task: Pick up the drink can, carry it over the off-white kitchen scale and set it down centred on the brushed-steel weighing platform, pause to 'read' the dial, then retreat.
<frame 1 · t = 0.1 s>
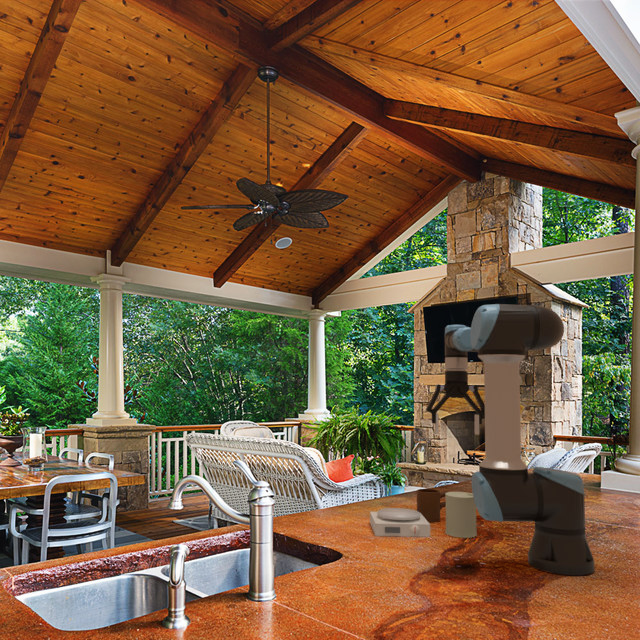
hand: (456, 433, 194), 28 cm above the counter, fingers open, 13 cm apart
can: (461, 534, 171), on the counter
mug: (434, 520, 189), on the counter
scale: (398, 529, 175), on the counter
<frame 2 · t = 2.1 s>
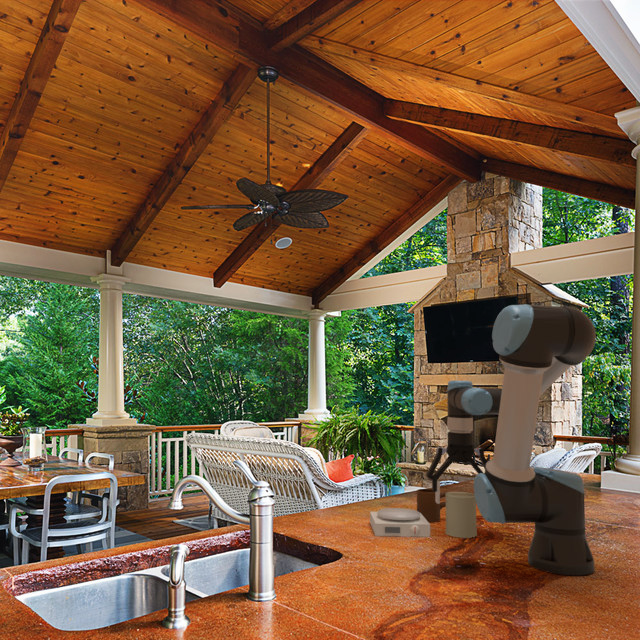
hand: (460, 503, 173), 9 cm above the counter, fingers open, 13 cm apart
nothing on the counter moved.
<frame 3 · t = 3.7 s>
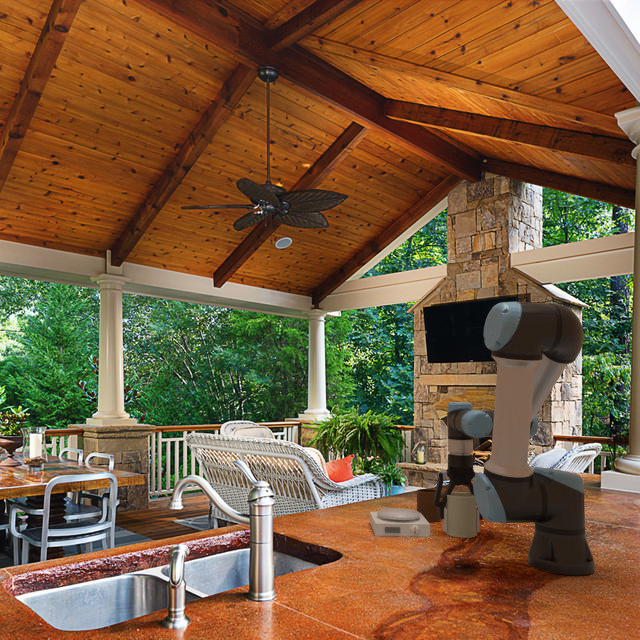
hand: (461, 530, 172), 1 cm above the counter, fingers closed on can, 9 cm apart
can: (461, 534, 171), on the counter, touching gripper
everything else where it was.
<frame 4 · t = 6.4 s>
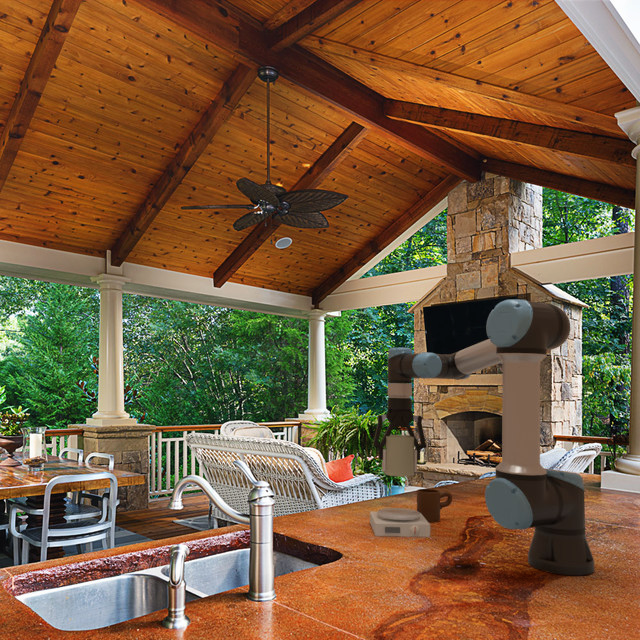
hand: (399, 471, 177), 17 cm above the counter, fingers closed on can, 9 cm apart
can: (399, 474, 177), point 16 cm above the counter, touching gripper
everything else where it was.
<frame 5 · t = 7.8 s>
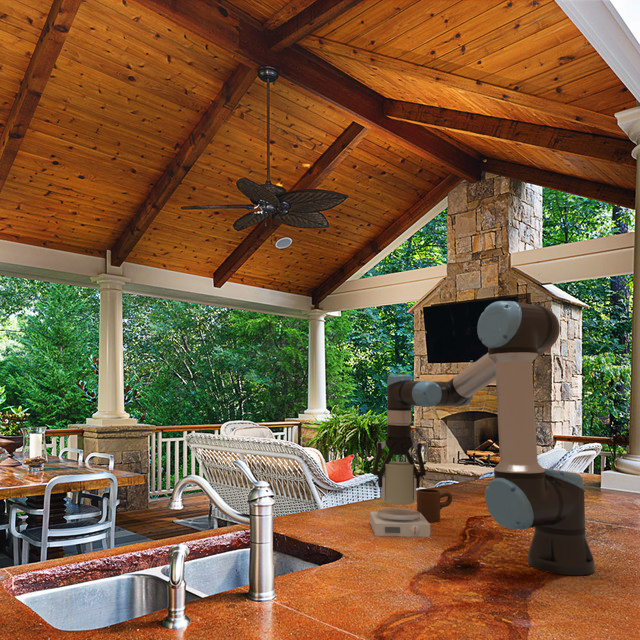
hand: (398, 498, 176), 9 cm above the counter, fingers closed on can, 9 cm apart
can: (398, 502, 176), point 8 cm above the counter, touching gripper
everything else where it was.
when the fingers open (7 cm above the counter, at t = 9.1 s): can drops 1 cm, resting on scale.
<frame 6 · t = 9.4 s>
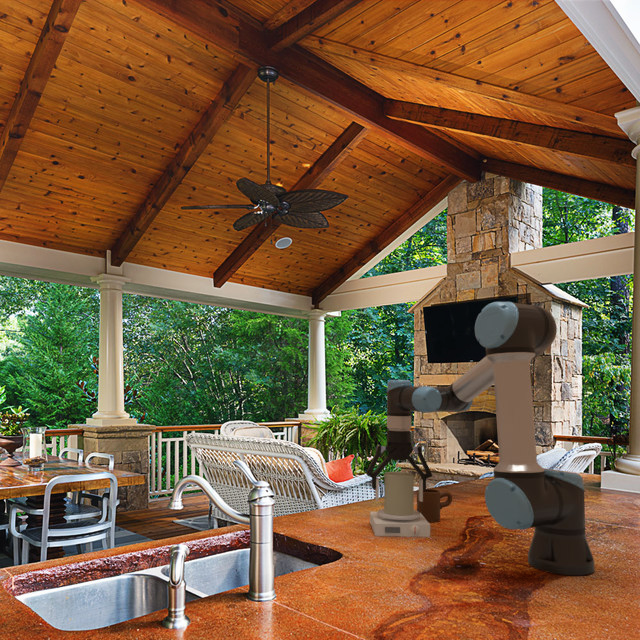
hand: (398, 500, 176), 9 cm above the counter, fingers open, 13 cm apart
can: (398, 513, 176), point 5 cm above the counter, touching scale
everything else where it was.
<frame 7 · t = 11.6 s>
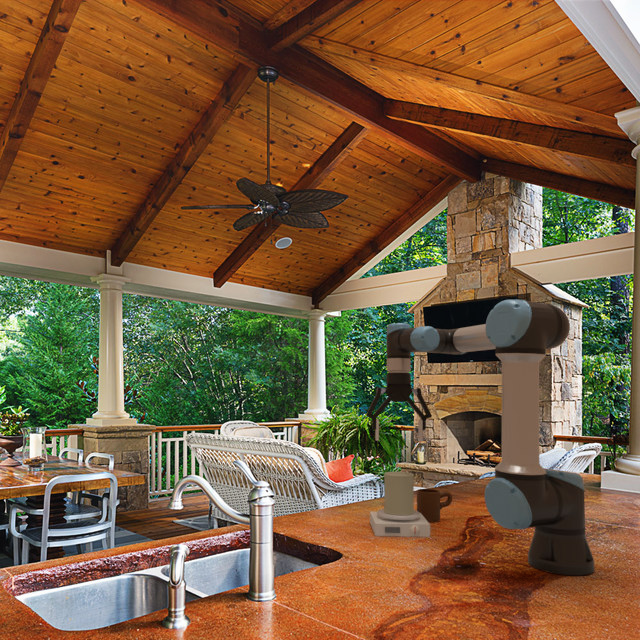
hand: (398, 440, 180), 26 cm above the counter, fingers open, 13 cm apart
nothing on the counter moved.
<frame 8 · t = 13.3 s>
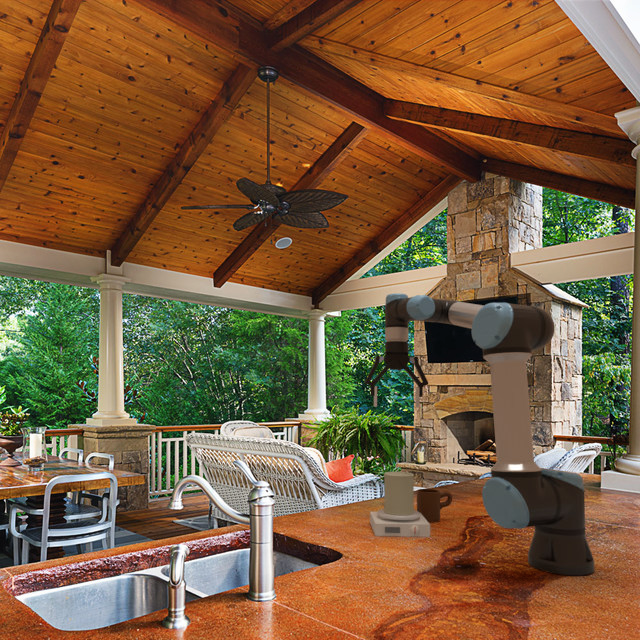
hand: (396, 407, 186), 37 cm above the counter, fingers open, 13 cm apart
nothing on the counter moved.
at the end: can inside the target area on the scale (0.0 cm from its centre), point 4.9 cm above the scale's base; can tilted 0°; the gripper is holding nothing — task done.
